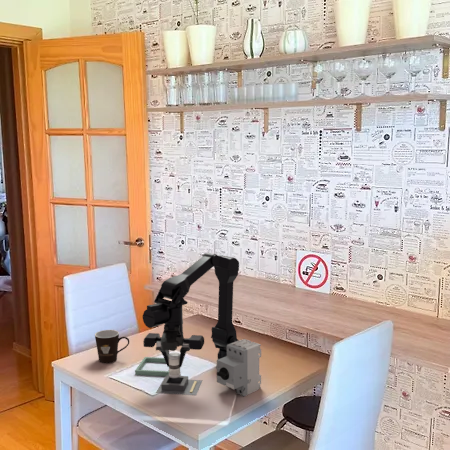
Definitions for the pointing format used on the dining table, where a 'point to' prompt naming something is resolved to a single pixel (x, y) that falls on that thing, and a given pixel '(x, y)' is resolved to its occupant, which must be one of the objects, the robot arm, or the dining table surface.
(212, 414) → the dining table surface
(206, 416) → the dining table surface
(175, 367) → the white banded cylinder
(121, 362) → the dining table surface
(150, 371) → the parts tray
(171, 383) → the board
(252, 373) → the circuit breaker
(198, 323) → the dining table surface
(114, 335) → the coffee mug
